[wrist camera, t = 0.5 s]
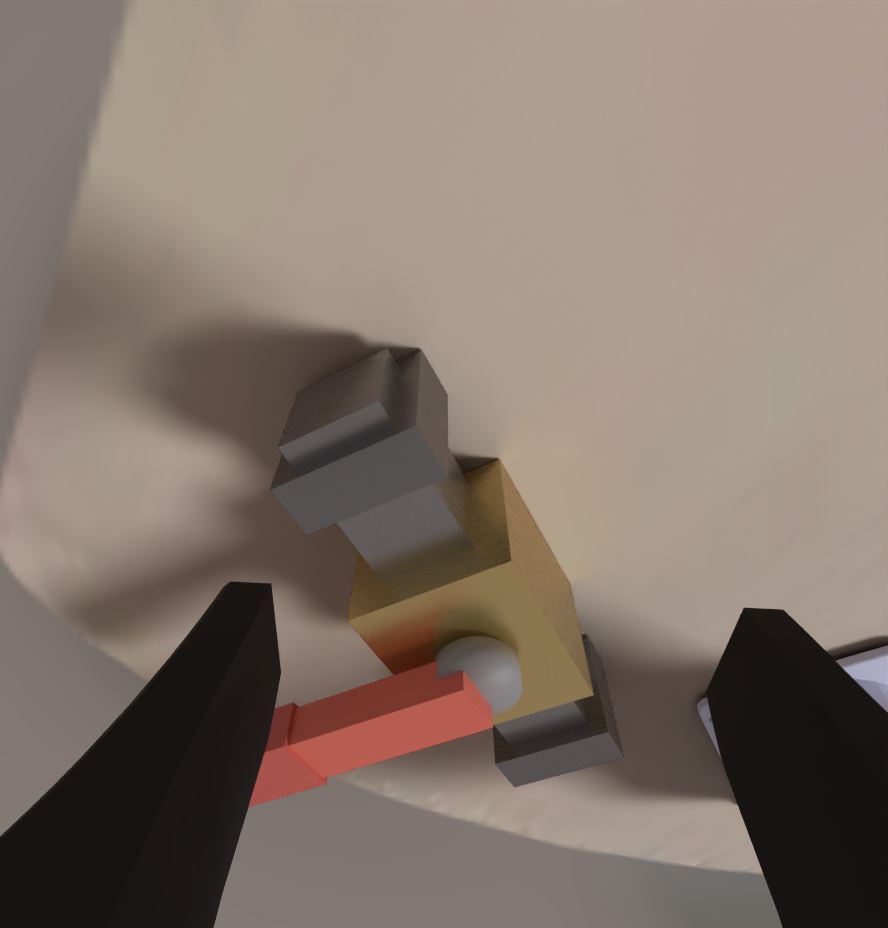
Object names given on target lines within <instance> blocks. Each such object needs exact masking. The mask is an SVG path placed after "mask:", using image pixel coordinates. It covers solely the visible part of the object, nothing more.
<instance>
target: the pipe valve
mask: <svg viewBox="0 0 888 928" xmlns="http://www.w3.org/2000/svg"><path fill="white" fill-rule="evenodd" d="M278 449H279V450H280V452H281V453H282V457H281V459H280V462H279V465H278V468H277V471H276V474H275V476H274V479H273V482H272V485H271V488H270V492H271V493H272V494H273V495H274V496H275V498H276V499H277V500H278V501H279V502H280V504H281V505H282V506H283V507H284V509H285V510H286V511H287V512H288V513H289V515H290V516H291V517H292V518H293V519H294V521H295V522H296V523H297V524H298V526H299V527H300V528H301V529H302V530H303V532H304V533H305V534H306V535H309V534H312V533H314V532H316V531H319V530H321V529H324V528H326V527H328V526H331V525H333V524H336V523H337V525H338V526H339V527H340V528H341V530H342V531H343V532H344V534H345V535H346V536H347V537H348V539H349V540H350V541H351V543H352V544H353V545H354V546H355V548H356V549H357V550H358V556H357V563H356V569H355V576H354V582H353V588H352V595H351V601H350V608H349V614H348V622H349V624H350V625H351V626H352V627H353V628H354V629H355V631H356V632H357V633H358V634H359V635H360V636H361V637H362V639H363V640H364V641H365V642H366V643H367V644H368V646H369V647H370V648H371V649H372V650H373V651H374V653H375V654H376V655H377V656H378V657H379V658H380V660H381V661H382V662H383V663H384V664H385V665H386V666H387V668H388V669H389V670H390V671H391V672H392V673H393V675H397V674H400V673H403V672H406V671H408V670H411V669H414V668H417V667H420V666H423V665H426V664H429V663H432V662H434V660H435V658H436V656H437V654H438V653H439V651H440V650H441V649H442V648H443V647H445V646H446V645H448V644H449V643H451V642H453V641H456V640H459V639H462V638H467V637H489V638H493V639H497V640H500V641H502V642H504V643H506V644H508V645H509V646H510V647H512V648H513V649H514V651H515V652H516V653H517V655H518V657H519V660H520V669H521V678H522V687H523V689H522V694H521V696H520V698H519V700H518V701H517V702H516V703H515V704H514V705H513V706H512V707H511V708H509V709H507V710H505V711H503V712H501V713H498V714H495V715H492V716H493V735H494V751H495V764H496V765H497V767H498V768H499V769H500V770H501V772H502V773H503V774H504V775H505V776H506V778H507V779H508V780H509V781H510V782H511V784H512V785H513V786H514V787H517V786H521V785H524V784H528V783H532V782H536V781H539V780H543V779H547V778H550V777H554V776H558V775H561V774H565V773H569V772H572V771H576V770H580V769H583V768H587V767H591V766H595V765H598V764H602V763H606V762H609V761H613V760H617V759H620V758H624V755H623V750H622V746H621V742H620V737H619V733H618V729H617V725H616V720H615V716H614V712H613V708H612V703H611V699H610V695H609V690H608V686H607V682H606V678H605V673H604V669H603V665H602V661H601V659H600V657H599V655H598V654H597V652H596V650H595V649H594V647H593V645H592V643H591V642H590V640H589V638H588V636H584V637H582V636H581V631H580V627H579V622H578V617H577V612H576V608H575V603H574V598H573V593H572V589H571V585H570V583H569V581H568V580H567V578H566V576H565V574H564V572H563V571H562V569H561V567H560V565H559V564H558V562H557V560H556V558H555V556H554V555H553V553H552V551H551V549H550V548H549V546H548V544H547V542H546V541H545V539H544V537H543V535H542V533H541V532H540V530H539V528H538V526H537V525H536V523H535V521H534V519H533V517H532V516H531V514H530V512H529V510H528V509H527V507H526V505H525V503H524V502H523V500H522V498H521V496H520V494H519V493H518V491H517V489H516V487H515V486H514V484H513V482H512V480H511V479H510V477H509V475H508V473H507V471H506V470H505V468H504V466H503V464H502V463H501V461H500V459H498V460H496V461H494V462H491V463H489V464H486V465H484V466H481V467H479V468H477V469H474V470H472V471H469V472H467V473H465V474H464V473H463V471H462V470H461V468H460V467H459V465H458V463H457V462H456V460H455V458H454V457H453V455H452V453H451V452H450V450H449V448H448V395H447V393H446V391H445V390H444V388H443V386H442V384H441V383H440V381H439V379H438V377H437V376H436V374H435V372H434V371H433V369H432V367H431V365H430V364H429V362H428V360H427V358H426V357H425V355H424V353H423V352H422V350H421V349H420V350H418V351H416V352H414V353H412V354H409V355H407V356H405V357H403V358H401V359H399V360H397V361H395V360H394V358H393V357H392V355H391V353H390V352H389V350H388V348H387V349H385V350H383V351H381V352H379V353H377V354H375V355H372V356H370V357H368V358H366V359H364V360H362V361H360V362H358V363H356V364H354V365H352V366H350V367H348V368H345V369H343V370H341V371H339V372H337V373H335V374H333V375H331V376H329V377H327V378H325V379H323V380H321V381H319V382H316V383H314V384H312V385H310V386H308V387H306V388H304V389H302V390H300V391H298V393H297V396H296V399H295V402H294V404H293V407H292V410H291V412H290V415H289V418H288V421H287V423H286V426H285V429H284V431H283V434H282V437H281V440H280V442H279V445H278Z"/></svg>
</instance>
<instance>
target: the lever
mask: <svg viewBox="0 0 888 928" xmlns="http://www.w3.org/2000/svg"><path fill="white" fill-rule="evenodd" d="M522 689H523V687H522V678H521V669H520V660H519V657H518V655H517V653H516V652H515V651H514V649H513V648H512V647H510V646H509V645H508V644H506V643H504V642H502V641H500V640H497V639H493V638H489V637H467V638H462V639H459V640H456V641H453V642H451V643H449V644H448V645H446V646H445V647H443V648H442V649H441V650H440V651H439V653H438V654H437V656H436V658H435V660H434V662H432V663H429V664H426V665H423V666H420V667H417V668H414V669H411V670H408V671H406V672H403V673H400V674H397V675H394V676H391V677H388V678H385V679H382V680H379V681H376V682H373V683H370V684H367V685H364V686H361V687H358V688H355V689H352V690H349V691H346V692H343V693H340V694H337V695H334V696H331V697H328V698H325V699H322V700H319V701H316V702H313V703H310V704H307V705H304V706H301V707H298V706H297V705H296V704H295V703H294V702H293V703H291V704H288V705H285V706H282V707H279V708H276V709H274V714H273V719H272V724H271V729H270V735H269V739H268V743H267V746H266V750H265V753H264V756H263V760H262V763H261V767H260V770H259V773H258V777H257V780H256V783H255V787H254V790H253V793H252V797H251V800H250V803H249V807H250V806H254V805H257V804H261V803H264V802H267V801H270V800H274V799H277V798H280V797H284V796H287V795H291V794H294V793H298V792H301V791H304V790H307V789H311V788H314V787H318V786H321V785H325V784H326V781H327V777H330V776H333V775H336V774H340V773H343V772H346V771H350V770H353V769H356V768H360V767H363V766H366V765H370V764H373V763H376V762H380V761H383V760H386V759H390V758H393V757H396V756H400V755H403V754H406V753H410V752H413V751H416V750H420V749H423V748H427V747H430V746H433V745H437V744H440V743H443V742H447V741H450V740H453V739H457V738H460V737H463V736H467V735H470V734H473V733H477V732H480V731H483V730H487V729H490V728H493V716H492V715H495V714H498V713H501V712H503V711H505V710H507V709H509V708H511V707H512V706H513V705H514V704H515V703H516V702H517V701H518V700H519V698H520V696H521V694H522Z"/></svg>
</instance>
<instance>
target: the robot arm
mask: <svg viewBox="0 0 888 928" xmlns="http://www.w3.org/2000/svg"><path fill="white" fill-rule="evenodd" d="M280 675H281V668H280V659H279V650H278V641H277V632H276V623H275V613H274V604H273V595H272V586H271V584H268V583H248V582H229V583H228V584H227V585H225V586H224V587H223V588H222V590H221V591H220V593H219V594H218V595H217V597H216V598H215V599H214V601H213V602H212V604H211V605H210V606H209V608H208V609H207V610H206V612H205V613H204V614H203V616H202V617H201V618H200V620H199V621H198V622H197V623H196V625H195V626H194V627H193V629H192V630H191V631H190V632H189V634H188V635H187V636H186V638H185V639H184V640H183V641H182V643H181V644H180V645H179V646H178V648H177V649H176V650H175V651H174V653H173V654H172V655H171V656H170V658H169V659H168V660H167V661H166V662H165V664H164V665H163V666H162V667H161V668H160V670H159V671H158V672H157V673H156V674H155V675H154V677H153V678H152V679H151V680H150V681H149V683H148V684H147V685H146V686H145V687H144V689H143V690H142V691H141V692H140V693H139V694H138V696H137V697H136V698H135V699H134V700H133V702H132V703H131V704H130V705H129V706H128V707H127V708H126V709H125V710H124V712H123V713H122V714H121V715H120V716H119V717H118V718H117V719H116V720H115V721H114V722H113V724H112V725H111V726H110V727H109V728H108V729H107V730H106V731H105V732H104V733H103V734H102V736H100V738H99V739H98V740H97V741H96V742H95V743H94V744H93V745H92V746H91V747H90V748H89V749H88V751H87V752H86V753H85V754H84V755H83V756H82V757H81V758H80V759H79V760H78V761H77V762H76V763H75V764H74V765H73V766H72V768H70V769H69V770H68V771H67V772H66V774H64V776H63V777H61V778H60V780H59V781H58V782H57V783H56V784H55V785H54V786H53V787H52V788H51V789H49V791H48V792H47V793H45V794H44V795H43V796H42V797H41V798H40V799H39V800H38V801H37V802H36V803H35V804H34V805H33V806H32V807H31V808H30V809H29V810H28V811H27V812H26V813H25V814H24V815H23V816H21V818H19V819H18V820H17V821H16V822H15V823H14V824H13V825H12V826H11V827H10V828H9V829H8V830H7V831H6V832H4V833H3V834H2V835H1V836H0V928H213V927H214V923H215V920H216V916H217V912H218V908H219V904H220V901H221V896H222V893H223V889H224V886H225V883H226V879H227V876H228V873H229V870H230V866H231V863H232V860H233V856H234V853H235V849H236V846H237V843H238V839H239V836H240V833H241V830H242V826H243V823H244V820H245V816H246V813H247V810H248V807H249V803H250V800H251V797H252V793H253V790H254V787H255V783H256V780H257V777H258V773H259V770H260V767H261V763H262V760H263V756H264V753H265V750H266V746H267V743H268V739H269V735H270V729H271V724H272V719H273V714H274V709H275V703H276V698H277V692H278V686H279V681H280ZM706 696H707V697H706V698H703V699H702V700H700V701H699V702H698V704H697V709H698V712H699V715H700V717H701V719H702V721H703V723H704V725H705V727H706V729H707V731H708V733H709V735H710V737H711V739H712V741H713V743H714V745H715V747H716V750H717V752H718V754H719V756H720V758H721V760H722V762H723V765H724V768H725V771H726V774H727V776H728V779H729V782H730V785H731V787H732V790H733V793H734V796H735V798H736V801H737V804H738V807H739V809H740V812H741V815H742V818H743V820H744V823H745V826H746V828H747V831H748V834H749V836H750V839H751V842H752V844H753V847H754V850H755V852H756V855H757V858H758V861H759V863H760V866H761V869H762V871H763V874H764V877H765V879H766V882H767V885H768V887H769V890H770V893H771V895H772V898H773V901H774V903H775V906H776V909H777V912H778V915H779V917H780V920H781V924H782V927H783V928H888V645H887V646H884V647H880V648H877V649H873V650H870V651H866V652H863V653H860V654H856V655H853V656H849V657H846V658H842V659H839V660H834V659H833V658H832V657H831V656H830V655H829V654H828V653H827V652H826V651H825V650H824V649H823V648H822V647H821V646H820V645H819V644H818V643H817V642H816V641H815V640H814V639H813V638H812V637H811V636H810V635H809V634H808V633H807V632H806V631H805V630H804V629H803V628H802V627H801V626H800V625H799V624H798V623H797V622H796V621H795V620H794V619H792V618H791V617H790V616H789V615H788V614H787V613H786V612H785V611H784V610H778V609H759V608H744V609H743V611H742V613H741V615H740V618H739V620H738V622H737V624H736V627H735V629H734V631H733V633H732V635H731V638H730V640H729V642H728V644H727V646H726V649H725V651H724V653H723V655H722V658H721V660H720V662H719V664H718V666H717V669H716V671H715V673H714V675H713V678H712V680H711V682H710V684H709V686H708V689H707V691H706Z"/></svg>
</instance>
